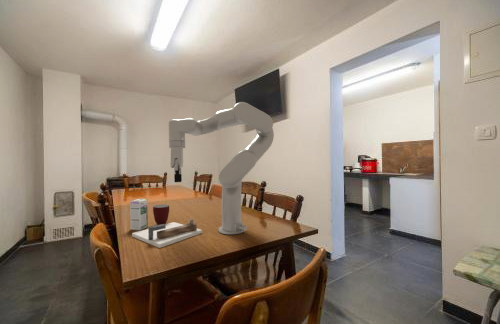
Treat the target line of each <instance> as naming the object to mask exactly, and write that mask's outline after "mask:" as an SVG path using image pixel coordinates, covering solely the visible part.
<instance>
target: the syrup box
mask: <svg viewBox="0 0 500 324" xmlns="http://www.w3.org/2000/svg"><path fill="white" fill-rule="evenodd" d="M129 217H130V220H129V223H130V230H132V231H142V230H145V228H146V229H147V228H148V227H149V226H148V223H149V222H148V221H149V220H148V217H149V216H148V199H146V198H137V199H134V200H130V201H129Z"/></svg>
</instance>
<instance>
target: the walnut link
mask: <svg viewBox="0 0 500 324" xmlns="http://www.w3.org/2000/svg"><path fill="white" fill-rule="evenodd" d="M196 229H198V226H197V223H196V222H194V219H193V218H190V219H189V222H188V223H186V224H183V225H182V226H178V227H174V228H170V229H166V230H161V231H157V238H159V239H162V238H166V237H169V236H173V235H177V234H180V233H184V232H188V231H194V230H196Z"/></svg>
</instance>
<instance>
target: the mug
mask: <svg viewBox="0 0 500 324" xmlns="http://www.w3.org/2000/svg"><path fill="white" fill-rule="evenodd" d="M152 214H153V218H154V222H155V224H156V225H161V224H167V222H168V219H169V214H170V205H169V204H164V203H163V204H156V205H153V207H152Z"/></svg>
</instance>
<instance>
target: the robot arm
mask: <svg viewBox="0 0 500 324" xmlns="http://www.w3.org/2000/svg"><path fill="white" fill-rule="evenodd" d="M242 124H243V125H244V124H245V125H247V126H249V127H250V128H253V129H254V130H255V131H256V136H255V137H254V139H252V141H251V142H250V143H249V144H248V145H247V146H246V147H245V148H244V149H242V150H240V151H239V152H237V153H236V154H235V155H234V156H233V157H232V158H231V160H230V161H229V162H228V163H227V164H226V165H225V166H224V167H223V168H222V169H221V170H220V172H219V175H218V181H219V183H220V184H221V186H222V187H221V226H219V227H218V232H219V233H220V234H223V235H239V234H242V233H243V232H246V230H247V228H248V226H247V225H244V221H242V187H243V186H242V185H243V184H242V183H243V181H242V180H243V179H244V178H245V177H246V176H247V175H248V174H249V173H250V172H251V170H253V168H254V167H255V166H256V164H257V163H258V161H260V159H261V158H262V157H263V156H264V155H265V153H266V152H268V150H269V149H270V147H271V146H272V144H273V142H274V135H275V133H274V128H273V127H274V121H273V118H272V117H271V116H270V114H267V113H266V112H264V111H262V110H260V109H258V108H257V107H255V106H253V105H251V104H249V103H248V102H246V101H239V102H237V103H235V104H234V106H233V107H231V108H227V109H223V110H222V109H221V110H218V111H216V112H215V113H214V114H213V115H212V116H210V117H208V118H205V119H202V120H201V119H200V120H197V119H194V118H193V117H188V118H182V119H175V118H174V119H171V120H169V121H168V146H169V147H168V148H169V149H170V168H171V169H173V170H174V171H173V172H174V174H173V175H174V183H182V176H183V174H182V168H183V167H184V149H186V134H188V135H191V136H194V137H195V136H196V137H197V136H202V135H207V134H211V133H215V132H216V131H217V132H218V131H220V130H222V129H225V128H227V129H228V128H230V127H233V126H234V127H235V126H238V125H242Z"/></svg>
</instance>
